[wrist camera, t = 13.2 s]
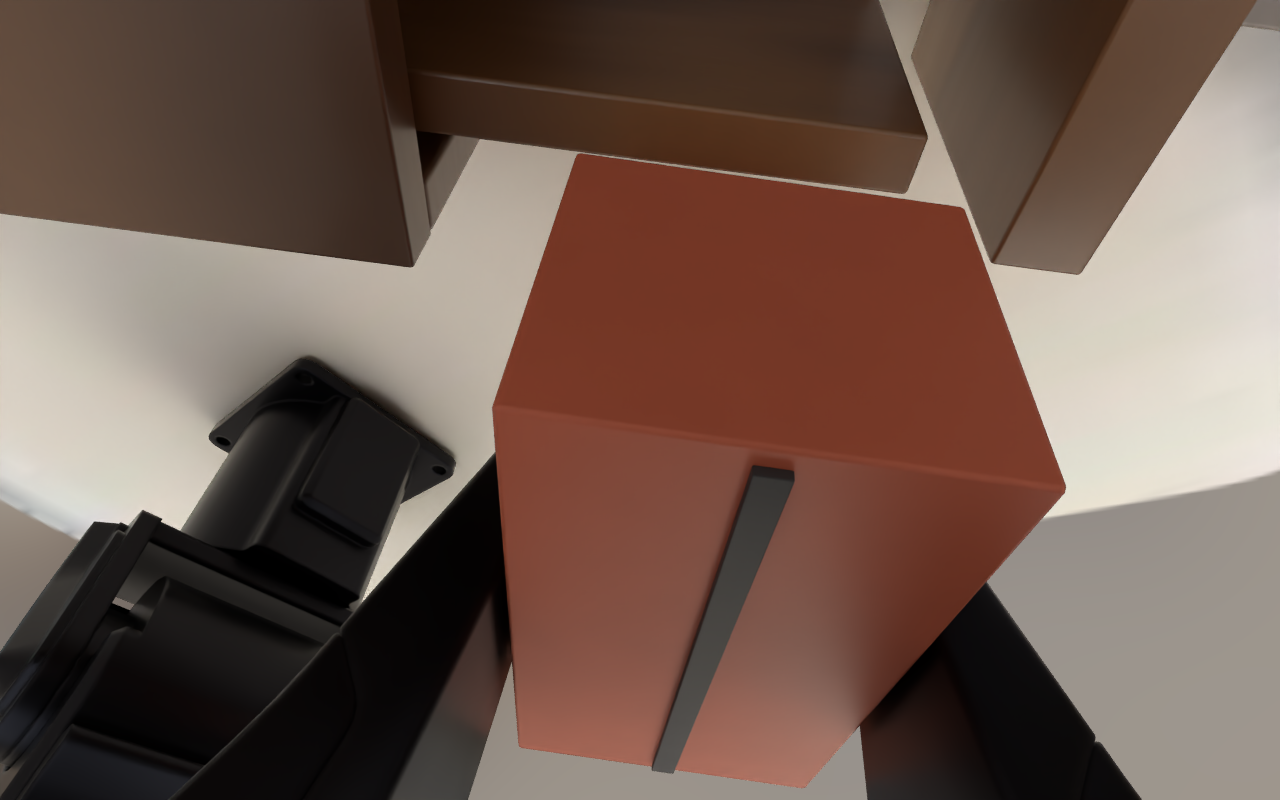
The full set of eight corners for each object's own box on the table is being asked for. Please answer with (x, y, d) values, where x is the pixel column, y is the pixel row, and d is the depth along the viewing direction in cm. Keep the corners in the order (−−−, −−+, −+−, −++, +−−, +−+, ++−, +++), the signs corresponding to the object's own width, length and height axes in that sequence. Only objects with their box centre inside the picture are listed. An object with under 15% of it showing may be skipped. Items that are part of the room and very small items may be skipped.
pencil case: (795, 562, 13) (806, 797, 10) (563, 528, 13) (515, 756, 10) (965, 205, 7) (1074, 502, 5) (576, 150, 7) (485, 419, 5)
